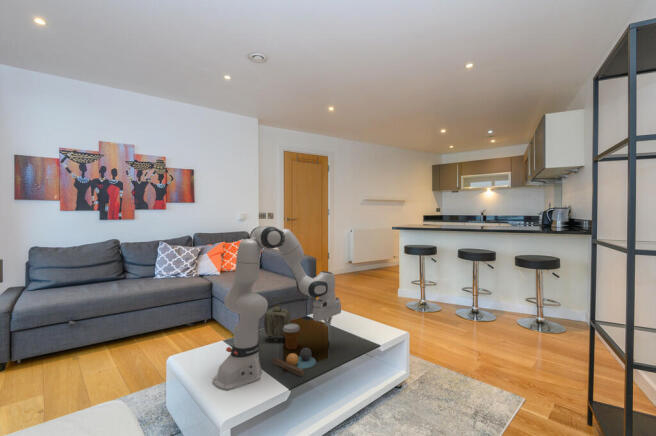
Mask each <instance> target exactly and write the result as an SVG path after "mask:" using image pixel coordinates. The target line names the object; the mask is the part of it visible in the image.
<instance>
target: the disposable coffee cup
mask: <svg viewBox="0 0 656 436" xmlns="http://www.w3.org/2000/svg"><path fill="white" fill-rule="evenodd" d="M300 329H301V328H300V325H299V324H297V323H290V324H287V325H285V326H284V328H283V330H284V336H283V337H284V340H285V341H284V343H285V348H286V349H287V350H296V349H297V348H298V344H299V343H298V341H299V333H300Z"/></svg>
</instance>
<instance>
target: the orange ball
mask: <svg viewBox="0 0 656 436" xmlns="http://www.w3.org/2000/svg"><path fill="white" fill-rule="evenodd" d="M285 362H287V363H290V364H292V365H294V366H295V365H296V364H297V363H298V355H297V353H295V352H293V353H292V352H291V353H289V354H288V355H287V356H286V360H285Z"/></svg>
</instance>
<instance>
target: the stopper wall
mask: <svg viewBox="0 0 656 436" xmlns="http://www.w3.org/2000/svg"><path fill="white" fill-rule="evenodd" d="M272 361H273V362H272V363H273V365H275V366H276V367H279V368H281V369H283V370H286V371H287V372H290V373H292V374H294V375H296V376H298V377H303V376H304V375H305V374H304V373H305V372H304V369H301V368H298V367H296V366H294V365H292V364H290V363H287V361H286V360H283V359H282V358H279V357H274V358H273V360H272Z"/></svg>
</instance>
